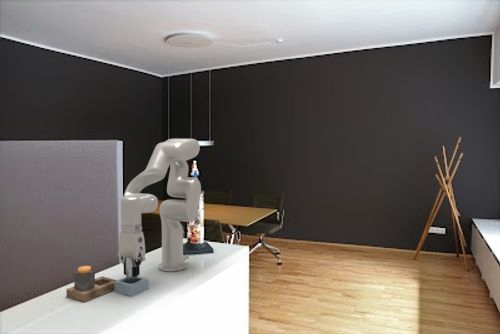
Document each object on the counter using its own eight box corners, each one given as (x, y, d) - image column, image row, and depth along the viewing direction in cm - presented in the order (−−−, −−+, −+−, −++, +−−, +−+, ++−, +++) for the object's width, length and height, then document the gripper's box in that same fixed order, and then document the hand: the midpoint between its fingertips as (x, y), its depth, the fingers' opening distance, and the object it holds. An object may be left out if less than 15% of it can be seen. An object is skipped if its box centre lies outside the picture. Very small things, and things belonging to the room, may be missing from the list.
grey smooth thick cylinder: (131, 284, 151) (131, 254, 151) (139, 286, 149) (138, 255, 149) (123, 287, 148) (123, 256, 147) (131, 289, 146) (131, 258, 145)
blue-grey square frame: (132, 284, 155) (132, 274, 155) (148, 288, 150) (148, 278, 150) (114, 291, 147) (114, 281, 147) (131, 296, 143) (130, 286, 142)
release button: (85, 284, 145) (85, 265, 145) (93, 286, 143) (93, 267, 143) (75, 288, 142) (75, 268, 141) (83, 290, 139) (83, 270, 139)
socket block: (102, 283, 156) (102, 261, 155) (119, 288, 151) (119, 265, 150) (66, 296, 142) (66, 273, 141) (84, 302, 137) (83, 277, 136)
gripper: (154, 229, 147) (154, 275, 148) (123, 224, 155) (124, 268, 156) (139, 232, 140) (140, 281, 141) (108, 227, 148) (108, 274, 149)
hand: (131, 274), depth 148 cm, fingers closed on grey smooth thick cylinder, 3 cm apart
